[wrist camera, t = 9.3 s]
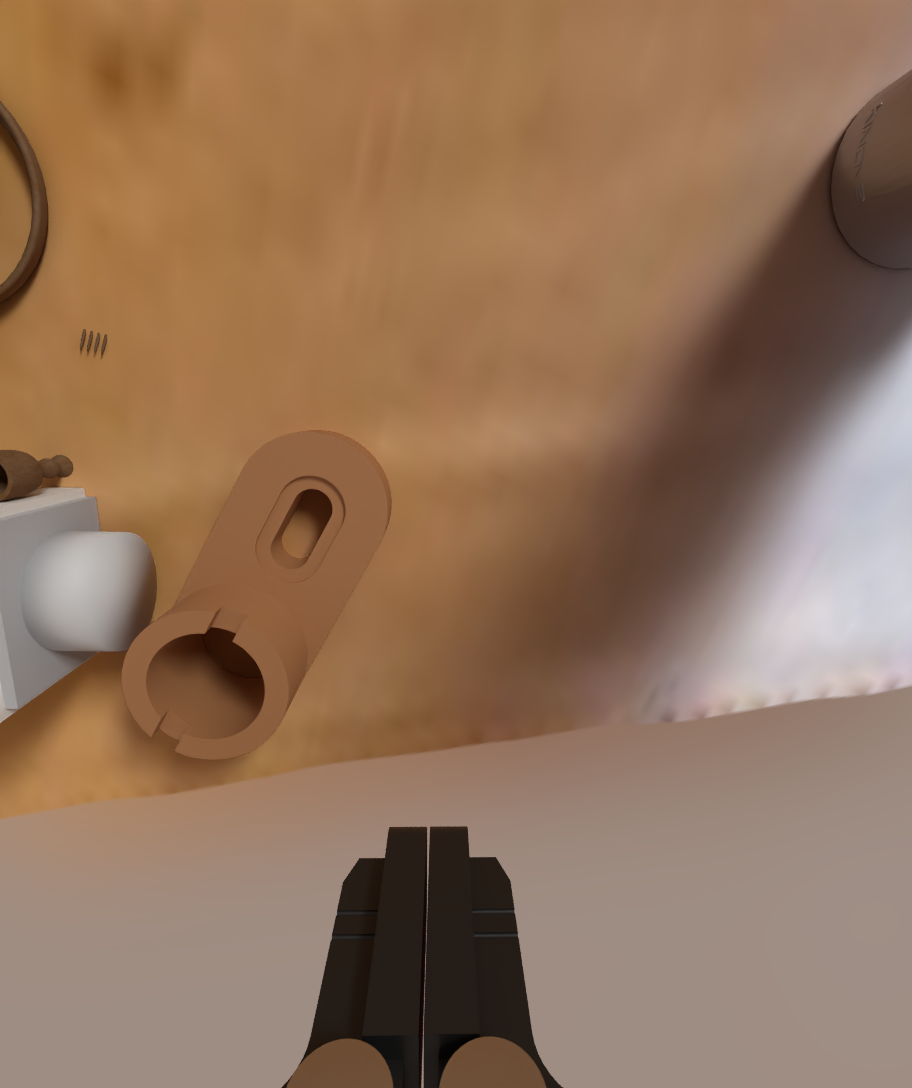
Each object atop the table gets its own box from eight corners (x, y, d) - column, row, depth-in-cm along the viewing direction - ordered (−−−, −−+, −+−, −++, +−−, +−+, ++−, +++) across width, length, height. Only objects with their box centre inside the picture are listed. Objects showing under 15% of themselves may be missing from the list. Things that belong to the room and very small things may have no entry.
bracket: (281, 713, 36) (246, 784, 29) (162, 656, 35) (96, 715, 28) (417, 475, 32) (411, 493, 26) (289, 402, 31) (249, 400, 24)
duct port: (151, 489, 32) (25, 524, 22) (167, 648, 34) (60, 743, 24) (48, 487, 32) (-124, 521, 22) (72, 647, 34) (-75, 742, 24)
